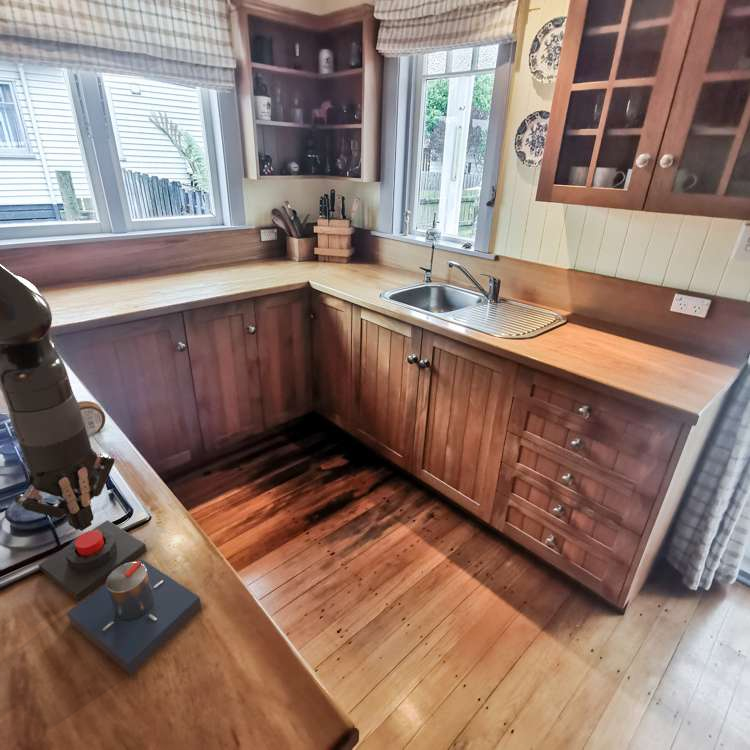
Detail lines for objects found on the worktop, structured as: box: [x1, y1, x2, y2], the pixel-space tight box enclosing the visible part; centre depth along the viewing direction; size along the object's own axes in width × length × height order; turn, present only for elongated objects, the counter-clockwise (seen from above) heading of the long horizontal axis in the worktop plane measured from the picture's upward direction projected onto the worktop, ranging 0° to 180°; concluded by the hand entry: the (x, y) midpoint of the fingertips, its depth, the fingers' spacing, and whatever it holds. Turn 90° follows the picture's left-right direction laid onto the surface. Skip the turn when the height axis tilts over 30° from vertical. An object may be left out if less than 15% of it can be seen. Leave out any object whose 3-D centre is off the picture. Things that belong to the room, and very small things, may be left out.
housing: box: [38, 520, 148, 603], centre depth 72 cm, size 10×11×4 cm
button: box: [75, 529, 104, 556], centre depth 71 cm, size 4×4×2 cm
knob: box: [105, 560, 154, 620], centre depth 62 cm, size 5×5×6 cm
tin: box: [77, 400, 106, 436], centre depth 100 cm, size 15×3×8 cm, turn 135°
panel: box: [66, 557, 202, 676], centre depth 64 cm, size 13×11×3 cm
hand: (83, 525), depth 69 cm, fingers closed
